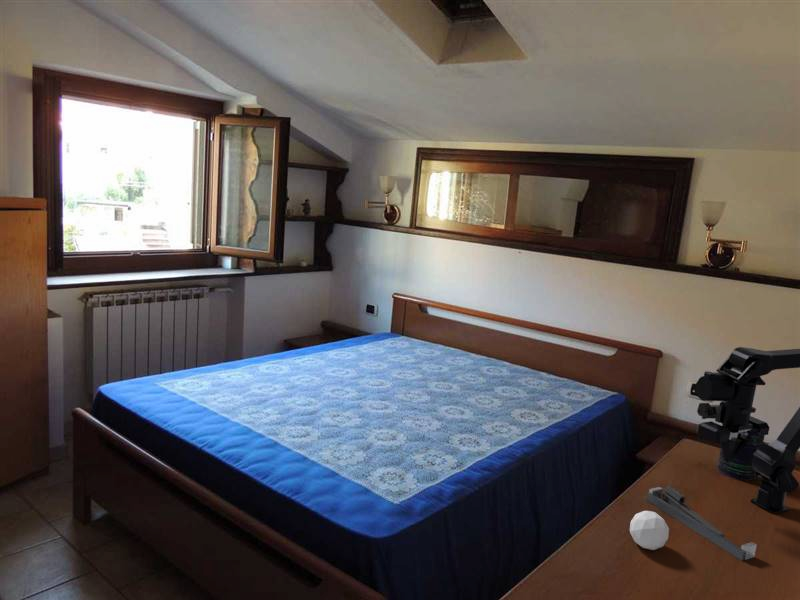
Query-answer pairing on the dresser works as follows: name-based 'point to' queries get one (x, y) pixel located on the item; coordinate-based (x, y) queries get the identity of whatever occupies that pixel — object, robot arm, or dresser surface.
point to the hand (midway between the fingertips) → (727, 461)
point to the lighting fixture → (685, 507)
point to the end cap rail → (700, 527)
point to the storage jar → (742, 459)
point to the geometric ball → (649, 530)
